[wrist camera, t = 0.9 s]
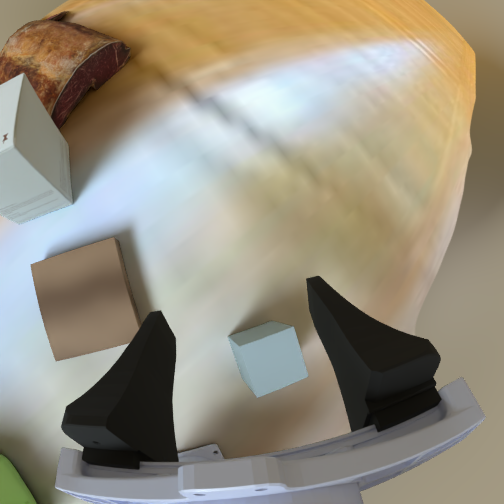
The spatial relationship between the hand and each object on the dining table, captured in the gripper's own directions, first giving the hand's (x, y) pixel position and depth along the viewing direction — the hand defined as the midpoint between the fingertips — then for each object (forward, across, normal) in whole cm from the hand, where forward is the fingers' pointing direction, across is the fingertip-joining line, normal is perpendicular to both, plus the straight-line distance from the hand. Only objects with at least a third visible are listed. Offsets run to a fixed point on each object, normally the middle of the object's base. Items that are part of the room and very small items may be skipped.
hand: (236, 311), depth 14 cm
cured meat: (+28, +20, -24) cm, 42 cm away
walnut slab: (+9, +15, +4) cm, 18 cm away
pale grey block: (+7, 0, +12) cm, 14 cm away
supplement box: (+16, +18, -7) cm, 25 cm away
